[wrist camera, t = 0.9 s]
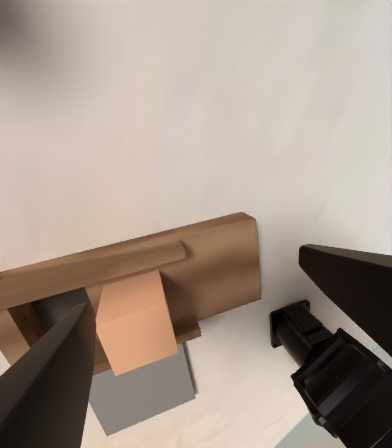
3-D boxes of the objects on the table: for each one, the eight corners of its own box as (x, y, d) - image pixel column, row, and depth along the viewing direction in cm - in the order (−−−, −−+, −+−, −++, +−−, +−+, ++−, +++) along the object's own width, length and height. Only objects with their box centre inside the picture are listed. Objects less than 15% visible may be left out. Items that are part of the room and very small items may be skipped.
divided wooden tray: (248, 284, 27) (271, 310, 23) (35, 354, 22) (10, 406, 18) (241, 211, 24) (267, 224, 19) (-12, 275, 19) (-58, 312, 14)
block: (169, 310, 22) (178, 352, 17) (119, 327, 21) (115, 376, 16) (158, 269, 20) (166, 303, 15) (103, 285, 19) (93, 326, 14)
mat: (193, 391, 31) (195, 398, 30) (107, 427, 28) (107, 436, 27) (178, 328, 26) (179, 334, 26) (75, 363, 24) (73, 372, 23)
